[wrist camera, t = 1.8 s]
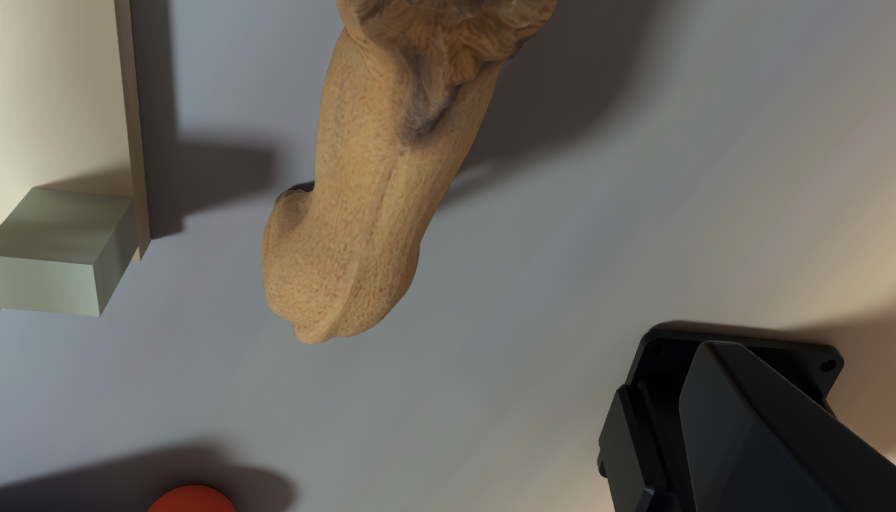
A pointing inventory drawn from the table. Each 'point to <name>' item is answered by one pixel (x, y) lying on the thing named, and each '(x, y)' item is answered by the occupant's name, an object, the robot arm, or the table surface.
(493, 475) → the table surface
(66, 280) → the cradle jig
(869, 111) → the table surface
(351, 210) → the lion figurine
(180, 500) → the lever
